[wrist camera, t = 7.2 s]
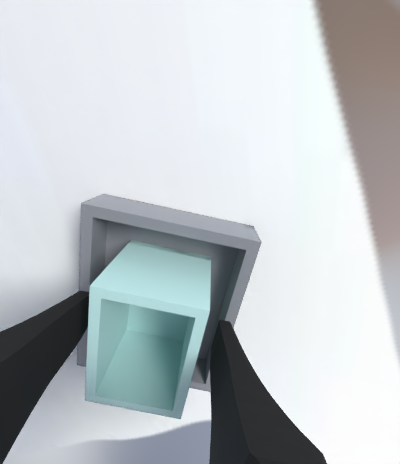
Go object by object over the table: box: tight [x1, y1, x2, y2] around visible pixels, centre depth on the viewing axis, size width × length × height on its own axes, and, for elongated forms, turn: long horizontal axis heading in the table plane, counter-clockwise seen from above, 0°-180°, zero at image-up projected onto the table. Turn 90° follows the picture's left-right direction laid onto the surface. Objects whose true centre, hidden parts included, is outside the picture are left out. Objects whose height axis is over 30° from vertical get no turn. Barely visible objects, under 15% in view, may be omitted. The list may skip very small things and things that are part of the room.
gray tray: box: [77, 194, 261, 392], centre depth 15 cm, size 9×11×2 cm
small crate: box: [85, 240, 211, 419], centre depth 13 cm, size 5×7×5 cm
